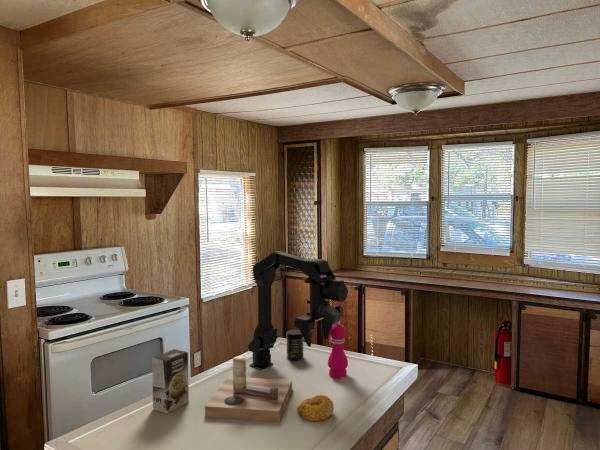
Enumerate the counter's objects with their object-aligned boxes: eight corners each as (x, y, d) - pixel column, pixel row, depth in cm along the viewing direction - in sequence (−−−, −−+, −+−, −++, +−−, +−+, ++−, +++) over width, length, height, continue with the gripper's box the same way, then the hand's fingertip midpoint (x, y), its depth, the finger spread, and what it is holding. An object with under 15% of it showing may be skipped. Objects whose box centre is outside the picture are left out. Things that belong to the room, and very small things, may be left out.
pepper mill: (348, 371, 165) (348, 317, 164) (348, 379, 158) (348, 323, 157) (328, 370, 166) (328, 317, 165) (327, 378, 159) (327, 322, 157)
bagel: (305, 403, 140) (305, 388, 140) (338, 411, 135) (338, 395, 135) (290, 418, 131) (290, 402, 131) (326, 426, 126) (326, 409, 126)
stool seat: (228, 385, 154) (228, 375, 154) (292, 388, 151) (292, 379, 150) (205, 416, 132) (204, 405, 132) (279, 421, 129) (279, 410, 129)
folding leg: (237, 387, 144) (237, 355, 143) (280, 395, 138) (280, 362, 137) (230, 392, 140) (230, 359, 140) (274, 401, 134) (274, 366, 134)
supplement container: (306, 359, 177) (305, 333, 177) (289, 362, 175) (289, 335, 174) (300, 354, 184) (300, 328, 183) (284, 356, 181) (284, 330, 181)
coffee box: (167, 414, 133) (165, 360, 132) (152, 409, 137) (150, 356, 136) (189, 402, 141) (188, 351, 140) (175, 397, 145) (174, 348, 144)
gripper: (319, 306, 140) (319, 355, 141) (353, 296, 154) (353, 341, 155) (292, 300, 147) (292, 348, 148) (327, 291, 161) (327, 334, 162)
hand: (317, 342), depth 153 cm, fingers open, 9 cm apart
